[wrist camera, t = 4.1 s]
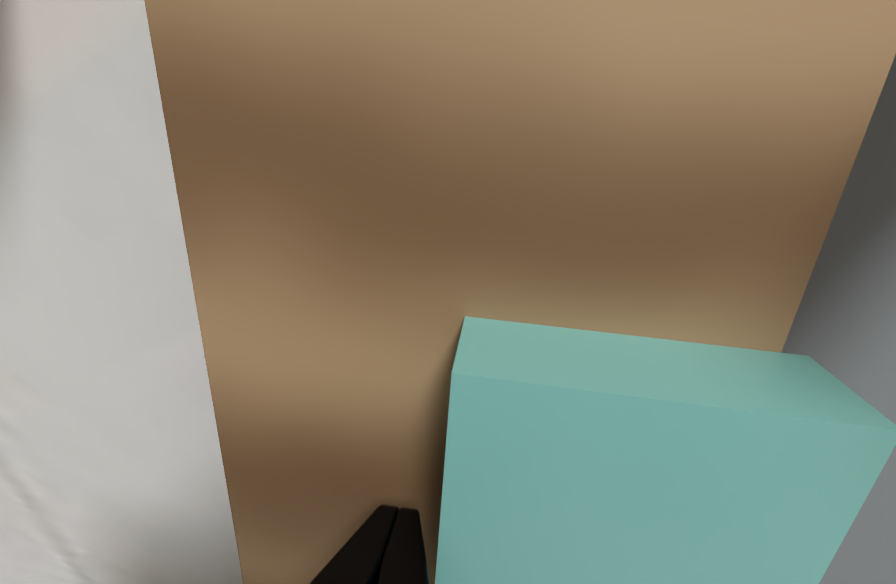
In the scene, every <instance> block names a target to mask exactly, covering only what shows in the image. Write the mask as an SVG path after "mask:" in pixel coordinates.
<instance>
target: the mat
mask: <svg viewBox="0 0 896 584" xmlns="http://www.w3.org/2000/svg"><path fill="white" fill-rule="evenodd" d="M781 353H789V354H798V355H807V356H810V357H811V358H812V359H813V360H815V361H816V362H817V363H818V364H820V365H821V366H822V367H823V368H825V369H826V370H827V371H829V372H830V373H831V374H832V375H834V376H835V377H836V378H837V379H839V380H840V381H841V382H842V383H844V384H845V385H846V386H847V387H849V388H850V389H851V390H852V391H854V392H855V393H856V394H857V395H859V396H860V397H861V398H863V399H864V400H865V401H866V402H868V403H869V404H870V405H871V406H873V407H874V408H875V409H876V410H878V411H879V412H880V413H881V414H883V415H884V416H885V417H886V418H888V419H889V420H890V421H892V422H893V423H894V424H895V425H896V54H895V57H894V60H893V62H892V65H891V67H890V70H889V73H888V75H887V78H886V80H885V83H884V86H883V88H882V91H881V93H880V96H879V99H878V101H877V104H876V107H875V109H874V112H873V114H872V117H871V120H870V122H869V125H868V127H867V130H866V133H865V135H864V138H863V140H862V143H861V146H860V148H859V151H858V154H857V156H856V159H855V161H854V164H853V167H852V169H851V172H850V174H849V177H848V180H847V182H846V185H845V187H844V190H843V193H842V195H841V198H840V200H839V203H838V206H837V208H836V211H835V214H834V216H833V219H832V221H831V224H830V227H829V229H828V232H827V234H826V237H825V240H824V242H823V245H822V247H821V250H820V253H819V255H818V258H817V261H816V263H815V266H814V268H813V271H812V274H811V276H810V279H809V281H808V284H807V287H806V289H805V292H804V294H803V297H802V300H801V302H800V305H799V307H798V310H797V313H796V315H795V318H794V321H793V323H792V326H791V328H790V331H789V334H788V336H787V339H786V341H785V344H784V347H783V349H782V352H781ZM819 584H896V445H895V447H894V449H893V451H892V453H891V454H890V456H889V458H888V460H887V462H886V463H885V465H884V467H883V469H882V471H881V472H880V474H879V476H878V478H877V480H876V481H875V483H874V485H873V487H872V489H871V491H870V492H869V494H868V496H867V498H866V500H865V501H864V503H863V505H862V507H861V509H860V510H859V512H858V514H857V516H856V518H855V519H854V521H853V523H852V525H851V527H850V528H849V530H848V532H847V534H846V536H845V537H844V539H843V541H842V543H841V545H840V546H839V548H838V550H837V552H836V554H835V555H834V557H833V559H832V561H831V563H830V564H829V566H828V568H827V570H826V572H825V573H824V575H823V577H822V579H821V581H820V582H819Z"/></svg>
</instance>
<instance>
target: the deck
mask: <svg viewBox="0 0 896 584" xmlns="http://www.w3.org/2000/svg"><path fill="white" fill-rule="evenodd" d="M145 6H146V12H147V18H148V24H149V30H150V36H151V41H152V47H153V53H154V59H155V65H156V71H157V77H158V83H159V89H160V94H161V100H162V106H163V112H164V118H165V124H166V130H167V136H168V142H169V147H170V153H171V159H172V165H173V171H174V177H175V183H176V189H177V194H178V200H179V206H180V212H181V218H182V224H183V230H184V236H185V242H186V247H187V253H188V259H189V265H190V271H191V277H192V283H193V289H194V294H195V300H196V306H197V312H198V318H199V324H200V330H201V336H202V342H203V347H204V353H205V359H206V365H207V371H208V377H209V383H210V389H211V395H212V400H213V406H214V412H215V418H216V424H217V430H218V436H219V442H220V447H221V453H222V459H223V465H224V471H225V477H226V483H227V489H228V495H229V500H230V506H231V512H232V518H233V524H234V530H235V536H236V542H237V548H238V553H239V559H240V565H241V571H242V577H243V583H244V584H309V583H310V582H311V581H312V580H313V579H314V578H315V577H316V576H317V575H318V573H319V572H320V571H321V570H322V569H323V568H324V567H325V566H326V564H327V563H328V562H329V561H330V560H331V559H332V558H333V557H334V555H335V554H336V553H337V552H338V551H339V550H340V549H341V548H342V547H343V545H344V544H345V543H346V542H347V541H348V540H349V539H350V538H351V536H352V535H353V534H354V533H355V532H356V531H357V530H358V529H359V527H360V526H361V525H362V524H363V523H364V522H365V521H366V520H367V519H368V517H369V516H370V515H371V514H372V513H373V512H374V511H375V510H376V508H377V507H378V506H380V505H382V504H385V505H392V506H397V507H399V509H400V508H401V507H406V508H413V509H417V510H418V511H419V514H420V520H421V527H422V534H423V540H424V547H425V554H426V561H427V567H428V574H429V581H430V584H435V576H436V563H437V551H438V538H439V526H440V513H441V500H442V488H443V475H444V462H445V450H446V437H447V425H448V412H449V399H450V387H451V374H452V369H453V365H454V361H455V356H456V352H457V348H458V343H459V339H460V335H461V331H462V326H463V322H464V318H465V316H467V317H476V318H485V319H494V320H502V321H511V322H520V323H528V324H537V325H546V326H554V327H563V328H572V329H580V330H589V331H598V332H607V333H615V334H624V335H633V336H641V337H650V338H659V339H667V340H676V341H685V342H694V343H702V344H711V345H720V346H728V347H737V348H746V349H754V350H763V351H772V352H780V353H781V352H782V349H783V347H784V344H785V341H786V339H787V336H788V334H789V331H790V328H791V326H792V323H793V321H794V318H795V315H796V313H797V310H798V307H799V305H800V302H801V300H802V297H803V294H804V292H805V289H806V287H807V284H808V281H809V279H810V276H811V274H812V271H813V268H814V266H815V263H816V261H817V258H818V255H819V253H820V250H821V247H822V245H823V242H824V240H825V237H826V234H827V232H828V229H829V227H830V224H831V221H832V219H833V216H834V214H835V211H836V208H837V206H838V203H839V200H840V198H841V195H842V193H843V190H844V187H845V185H846V182H847V180H848V177H849V174H850V172H851V169H852V167H853V164H854V161H855V159H856V156H857V154H858V151H859V148H860V146H861V143H862V140H863V138H864V135H865V133H866V130H867V127H868V125H869V122H870V120H871V117H872V114H873V112H874V109H875V107H876V104H877V101H878V99H879V96H880V93H881V91H882V88H883V86H884V83H885V80H886V78H887V75H888V73H889V70H890V67H891V65H892V62H893V60H894V57H895V54H896V0H145Z"/></svg>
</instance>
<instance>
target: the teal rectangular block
mask: <svg viewBox="0 0 896 584" xmlns="http://www.w3.org/2000/svg"><path fill="white" fill-rule="evenodd" d="M895 445H896V425H895V424H894V423H893V422H892V421H890V420H889V419H888V418H886V417H885V416H884V415H883V414H881V413H880V412H879V411H878V410H876V409H875V408H874V407H873V406H871V405H870V404H869V403H868V402H866V401H865V400H864V399H863V398H861V397H860V396H859V395H857V394H856V393H855V392H854V391H852V390H851V389H850V388H849V387H847V386H846V385H845V384H844V383H842V382H841V381H840V380H839V379H837V378H836V377H835V376H834V375H832V374H831V373H830V372H829V371H827V370H826V369H825V368H823V367H822V366H821V365H820V364H818V363H817V362H816V361H815V360H813V359H812V358H811V357H810V356H807V355H798V354H789V353H780V352H772V351H763V350H754V349H746V348H737V347H728V346H720V345H711V344H702V343H694V342H685V341H676V340H667V339H659V338H650V337H641V336H633V335H624V334H615V333H607V332H598V331H589V330H580V329H572V328H563V327H554V326H546V325H537V324H528V323H520V322H511V321H502V320H494V319H485V318H476V317H467V316H465V318H464V322H463V326H462V331H461V335H460V339H459V343H458V348H457V352H456V356H455V361H454V365H453V369H452V374H451V387H450V399H449V412H448V425H447V437H446V450H445V462H444V475H443V488H442V500H441V513H440V526H439V538H438V551H437V563H436V576H435V584H819V582H820V581H821V579H822V577H823V575H824V573H825V572H826V570H827V568H828V566H829V564H830V563H831V561H832V559H833V557H834V555H835V554H836V552H837V550H838V548H839V546H840V545H841V543H842V541H843V539H844V537H845V536H846V534H847V532H848V530H849V528H850V527H851V525H852V523H853V521H854V519H855V518H856V516H857V514H858V512H859V510H860V509H861V507H862V505H863V503H864V501H865V500H866V498H867V496H868V494H869V492H870V491H871V489H872V487H873V485H874V483H875V481H876V480H877V478H878V476H879V474H880V472H881V471H882V469H883V467H884V465H885V463H886V462H887V460H888V458H889V456H890V454H891V453H892V451H893V449H894V447H895Z"/></svg>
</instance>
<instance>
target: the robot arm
mask: <svg viewBox="0 0 896 584" xmlns="http://www.w3.org/2000/svg"><path fill="white" fill-rule="evenodd" d="M309 584H430V581H429V574H428V567H427V561H426V554H425V547H424V540H423V534H422V527H421V520H420V514H419V511H418V510H417V509H413V508H406V507H401V508H400V509H399V507H397V506H392V505H385V504H382V505H380V506H378V507H377V508H376V510H375V511H374V512H373V513H372V514H371V515H370V516H369V517H368V519H367V520H366V521H365V522H364V523H363V524H362V525H361V526H360V527H359V529H358V530H357V531H356V532H355V533H354V534H353V535H352V536H351V538H350V539H349V540H348V541H347V542H346V543H345V544H344V545H343V547H342V548H341V549H340V550H339V551H338V552H337V553H336V554H335V555H334V557H333V558H332V559H331V560H330V561H329V562H328V563H327V564H326V566H325V567H324V568H323V569H322V570H321V571H320V572H319V573H318V575H317V576H316V577H315V578H314V579H313V580H312V581H311V582H310V583H309Z"/></svg>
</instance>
